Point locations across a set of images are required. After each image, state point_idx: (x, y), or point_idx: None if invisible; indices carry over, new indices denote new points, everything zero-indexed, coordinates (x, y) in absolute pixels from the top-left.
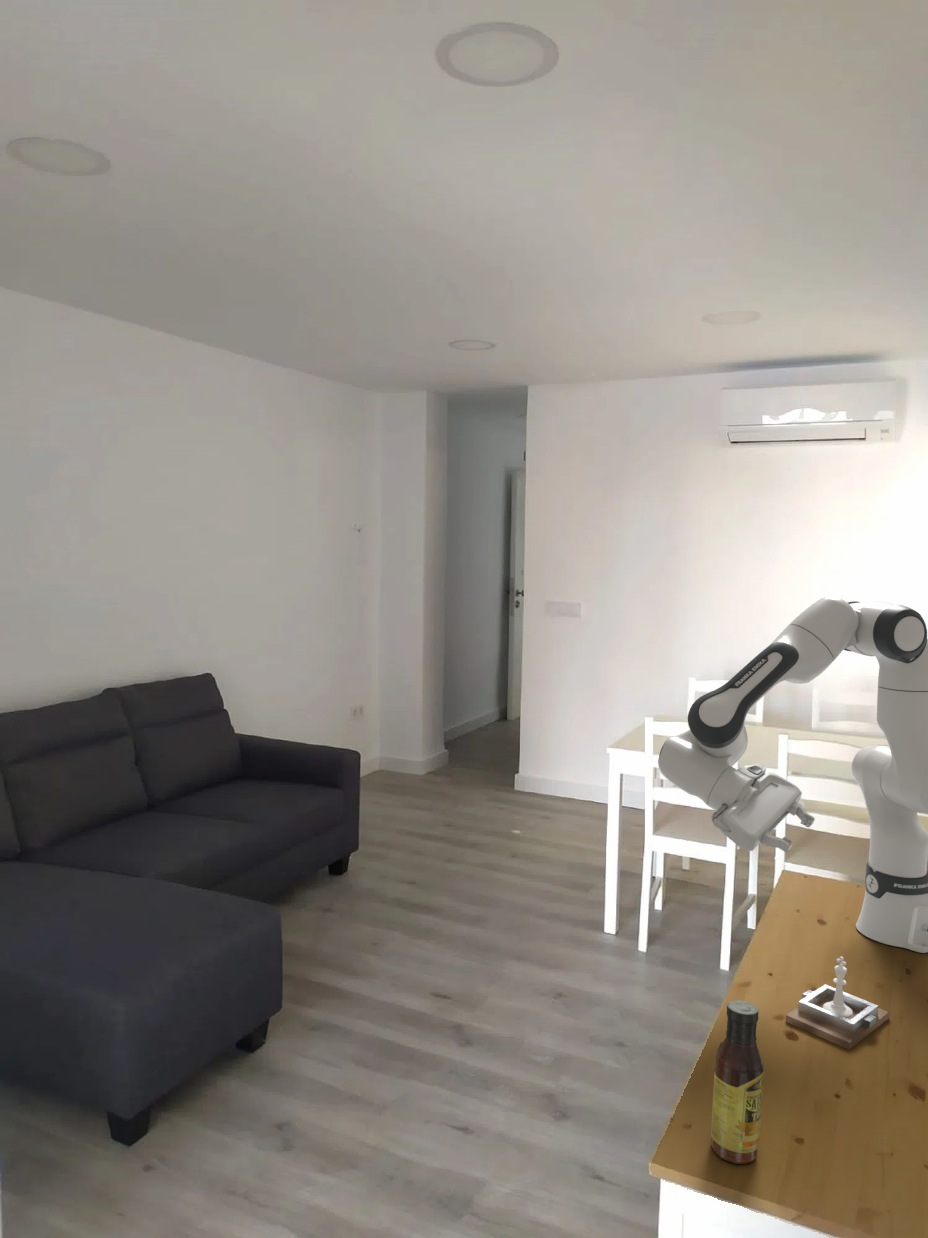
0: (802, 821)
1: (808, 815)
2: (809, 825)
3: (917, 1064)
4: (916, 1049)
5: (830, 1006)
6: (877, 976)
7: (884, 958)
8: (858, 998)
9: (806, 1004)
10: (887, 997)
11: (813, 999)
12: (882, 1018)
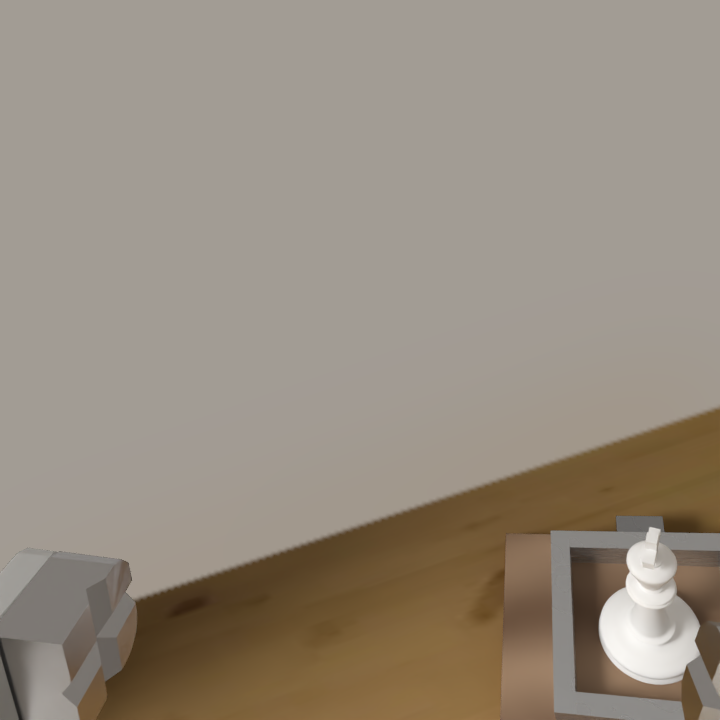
0: (85, 693)
1: (9, 598)
2: (132, 608)
3: (672, 424)
4: (603, 449)
5: (675, 643)
6: (267, 658)
7: (132, 686)
8: (557, 586)
9: None
10: (383, 589)
11: None
12: (550, 535)
